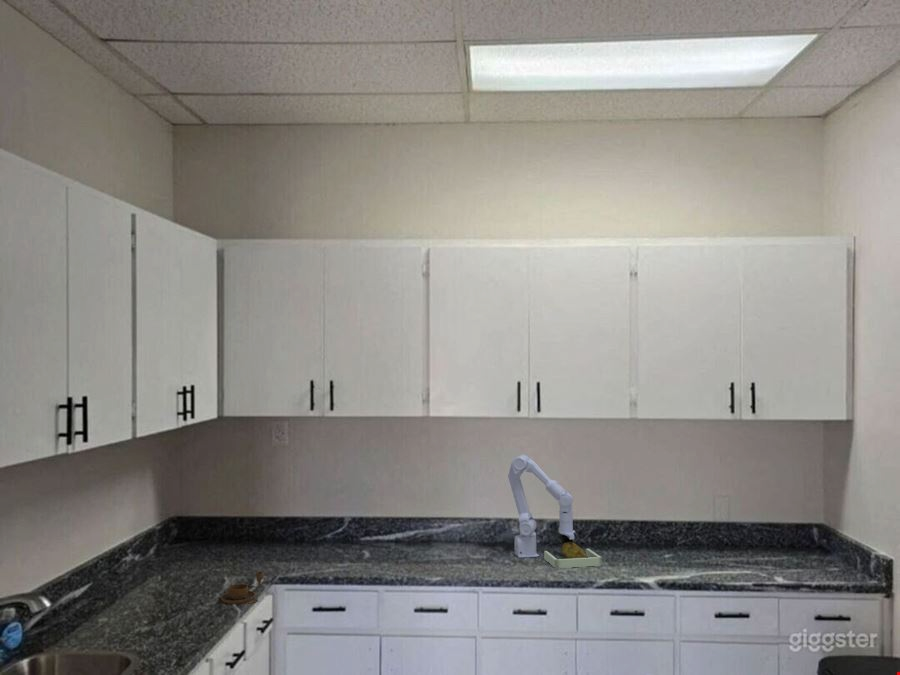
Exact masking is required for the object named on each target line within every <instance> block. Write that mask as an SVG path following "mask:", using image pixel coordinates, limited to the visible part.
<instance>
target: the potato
mask: <svg viewBox="0 0 900 675" xmlns="http://www.w3.org/2000/svg"><path fill="white" fill-rule="evenodd" d="M560 551H561V553H562V556H563V557H564V559H573V558H587V555H586V552H584V550H583V549H582V547H580V546H578V545H577V544H576V543H575V542H573V541H572V542H566V543H564V544H563V545H562V544H561V549H560Z"/></svg>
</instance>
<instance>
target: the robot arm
mask: <svg viewBox="0 0 900 675" xmlns="http://www.w3.org/2000/svg"><path fill="white" fill-rule="evenodd" d="M524 472H527V473H532V474H533V475H534V476H535V477H536V478H537V479H539V480H540V482H541V483H543V484H544V485H545V490H546V491H547V492H548V493H549V494H550V495H551V496H552V497H553V498H554V499H555V500H556V501H557V503H558V506H559V512H558V513H559V527H558V533H559V534H561V535H559V536H558V538H559V539H560V542H561V546H562V545H563V544H564V543H566V542H573V541H574V540H575V534H576V530H574V528H573V527H574V524H573V523H574V522H573V521H574V520H573V518H574V516H573V502H574V497H573V495H572V494H571V493H570V492H568V490H567V489H564V487H562V486H561V485H560V481H557V480H555V479H551V478H550V477H549V476H548V475H547V474H546V473H545V472H544V471H543V470H542V469H541V467H539V465H537V463H536V462H535V461H534V460H533V459H532V458H530V457H529V456H528V455H527V454H519V455H518V456H516V457H515V458H513V460H512V461H511V463H510V468H509V471H508V475H507V477H508V482H509V486H510V488H511V491H512V495H513V499H514V502H515V506H516V509H517V512H518V523H519V527H518V530H519V534H518V535H514V554H515V555H516V557H518V558H535V557H537V558H539V557H540V555H539V553H537V532H536V529H537V525H538V524H537V521H536V520H535V518H534V517H533V514H532V512H531V510H530V508H529V504H528V501H527V500H528V499H527V498H526V497H527V496H526V495H525V490H524V487H523V484H522V479H521V476H522V475H523V473H524ZM538 556H539V557H538Z"/></svg>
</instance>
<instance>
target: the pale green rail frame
mask: <svg viewBox="0 0 900 675" xmlns="http://www.w3.org/2000/svg"><path fill="white" fill-rule="evenodd" d="M543 552H544V553H543V556H544V558H543V559H544V560H545V561H546V562H547V563H548V562H549V563H550V564H549V563H548V564H549V565H551V567H553V568H554V567H555V568H556V570H559V568H562V569H573V568H572V567H579V568H587V567H586V566H595V567H602V566H603V557H602V556H600V555H599V554H598V553H596V552H595V551H593V550H592V549H590V548H585V554H586V555H587V557H588V558H573V559H567V558H559V559H558V558H556V557H555V556H554V555H553V554H552V553H550V552H549V551H547V550H544V551H543ZM601 565H602V566H601ZM555 568H554V569H555Z"/></svg>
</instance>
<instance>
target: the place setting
mask: <svg viewBox="0 0 900 675" xmlns="http://www.w3.org/2000/svg"><path fill="white" fill-rule="evenodd" d="M255 577H256V580H257V581H258V584H257V585H258V586H261V585H262V582H261V581H262V580H263V578H264V572H263V571H257V572H256V575H255ZM247 596H251V597H248V598H246V597H247ZM255 597H256V593H255V592H254V591H252V590H249V585H248V584H246V583H239V584H238V583H236V584H232V585H229V586H228V590H227V592H225V593H224V594H222V595H221V596H220V600H221V602H222V603H224V604H229V605H240V604H241V605H240V606H245V605H248V604H255V603H257V602H259V599H255ZM226 598H230V599H232V600H227V599H226Z"/></svg>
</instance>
